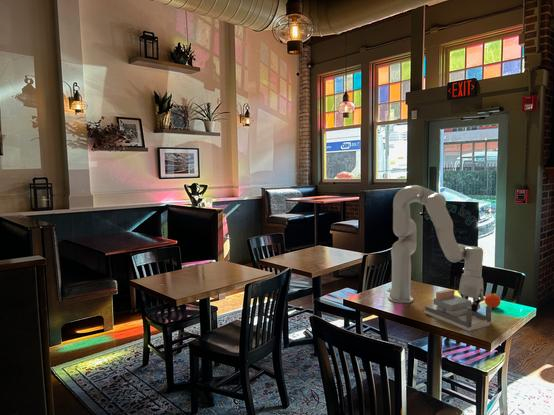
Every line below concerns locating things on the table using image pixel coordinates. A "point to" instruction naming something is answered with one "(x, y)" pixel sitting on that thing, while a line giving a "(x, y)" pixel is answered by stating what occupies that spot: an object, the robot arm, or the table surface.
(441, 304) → the slab
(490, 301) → the clementine
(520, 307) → the table surface
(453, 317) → the roller track
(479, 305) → the loose roller
